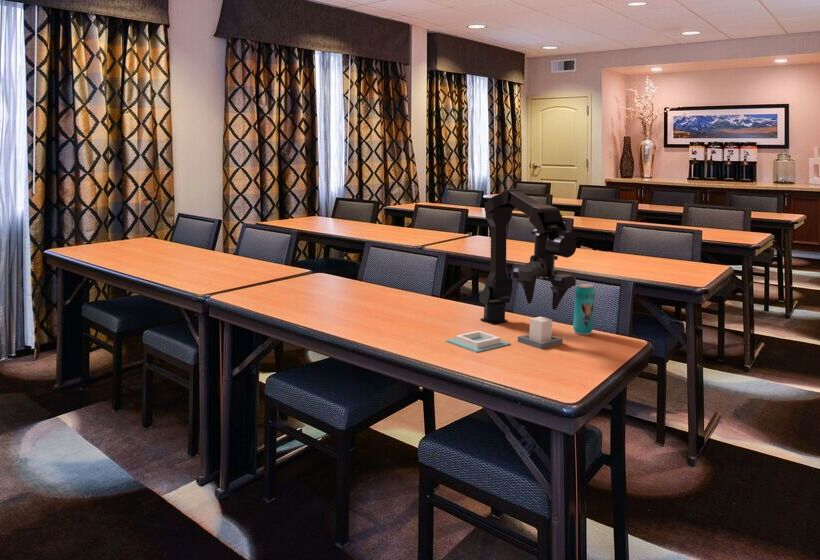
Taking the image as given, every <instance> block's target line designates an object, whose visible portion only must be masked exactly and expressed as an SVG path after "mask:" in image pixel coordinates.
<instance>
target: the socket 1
mask: <svg viewBox="0 0 820 560" xmlns="http://www.w3.org/2000/svg"><path fill="white" fill-rule="evenodd" d="M445 342H447V343H448V344H450V345H451V344H452V345H455V346H457V347H459V348H463V349H465V350H468V351H471V352H474V353H475V354H476V353H481V352H482V353H483V352H486V351H489V350H493V349H494V350H495V349H498V348H502V347H506V346H507V347H508V346H511V343H510V342H507V341H504V340H501V337H500V336H496V335H494V334H490V333H487V332H484V331H481V330H476V331H471V332H466V333H461V334H457V335H455V338H449V339H445Z"/></svg>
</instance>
